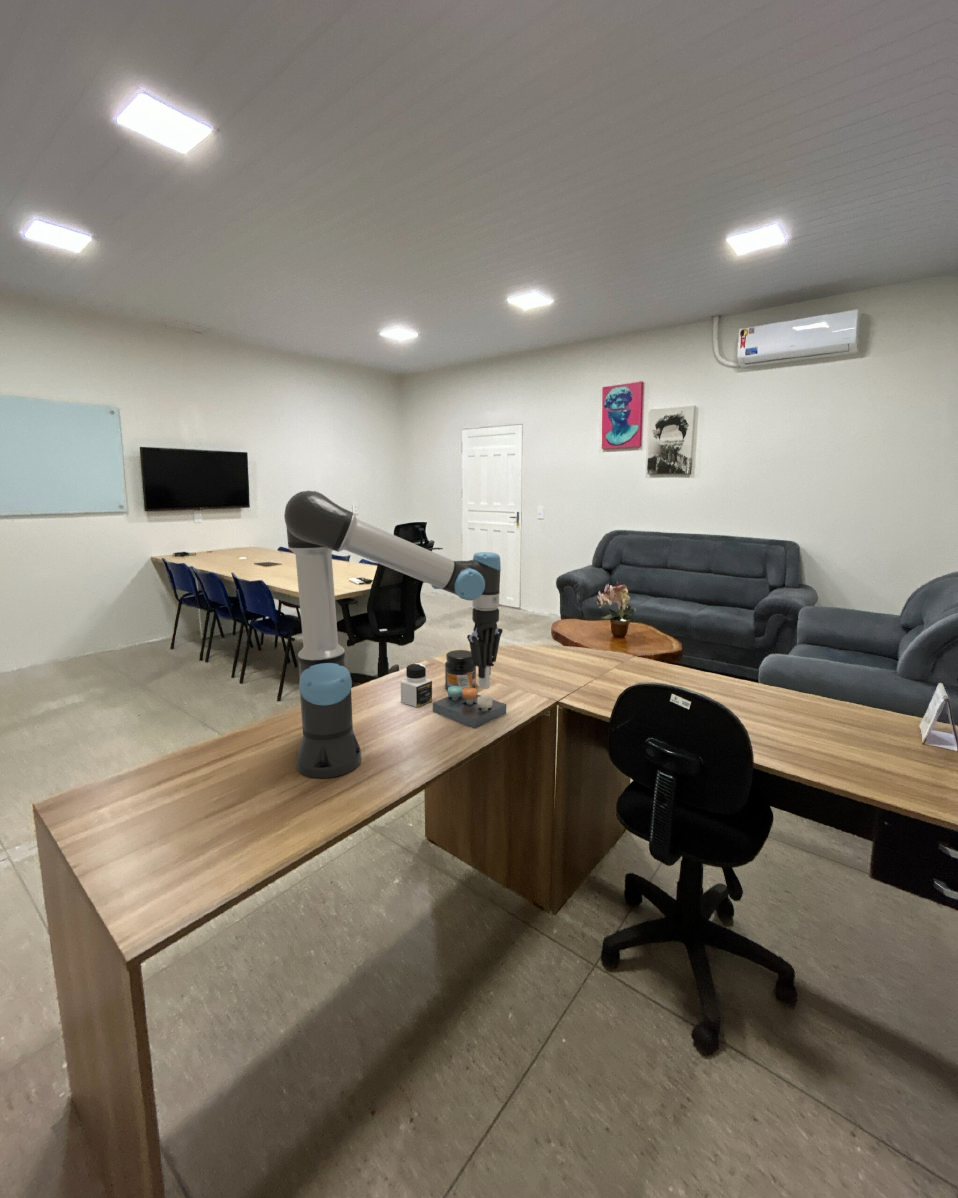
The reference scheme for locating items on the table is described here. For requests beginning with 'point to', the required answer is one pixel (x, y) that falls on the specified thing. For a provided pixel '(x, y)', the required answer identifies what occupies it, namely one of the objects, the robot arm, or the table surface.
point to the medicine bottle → (416, 686)
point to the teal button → (455, 692)
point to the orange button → (469, 695)
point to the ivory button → (484, 703)
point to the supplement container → (460, 669)
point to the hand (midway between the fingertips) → (484, 687)
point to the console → (468, 711)
